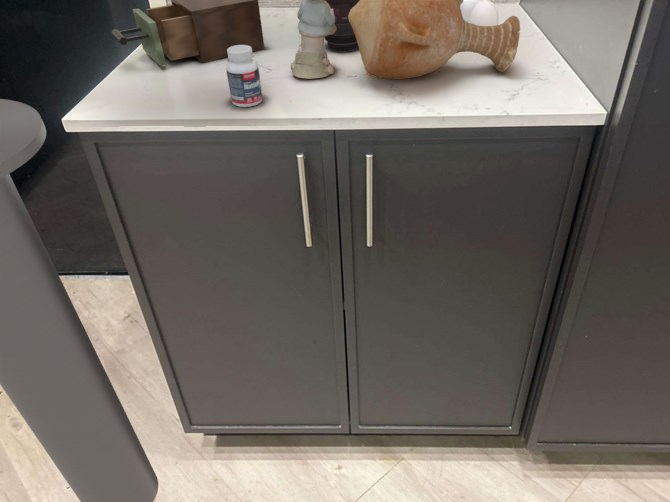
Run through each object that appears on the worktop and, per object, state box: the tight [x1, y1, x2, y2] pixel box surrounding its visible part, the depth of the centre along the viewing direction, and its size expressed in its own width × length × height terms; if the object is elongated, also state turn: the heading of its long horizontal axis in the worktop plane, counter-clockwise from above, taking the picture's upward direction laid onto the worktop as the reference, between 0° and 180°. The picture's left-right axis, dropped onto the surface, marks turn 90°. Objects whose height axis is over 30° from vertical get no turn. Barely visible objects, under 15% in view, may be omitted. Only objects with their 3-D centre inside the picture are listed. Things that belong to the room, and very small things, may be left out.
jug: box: [348, 0, 521, 80], centre depth 101 cm, size 20×19×30 cm
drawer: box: [111, 3, 199, 67], centre depth 112 cm, size 18×11×8 cm, turn 123°
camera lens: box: [325, 0, 360, 53], centre depth 113 cm, size 8×8×15 cm
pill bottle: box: [225, 45, 263, 108], centre depth 95 cm, size 5×5×9 cm
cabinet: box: [170, 0, 266, 64], centre depth 116 cm, size 14×13×10 cm
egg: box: [469, 0, 500, 26], centre depth 118 cm, size 6×6×8 cm
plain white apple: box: [460, 0, 483, 23], centre depth 127 cm, size 7×7×8 cm
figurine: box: [290, 0, 336, 80], centre depth 101 cm, size 9×8×20 cm
